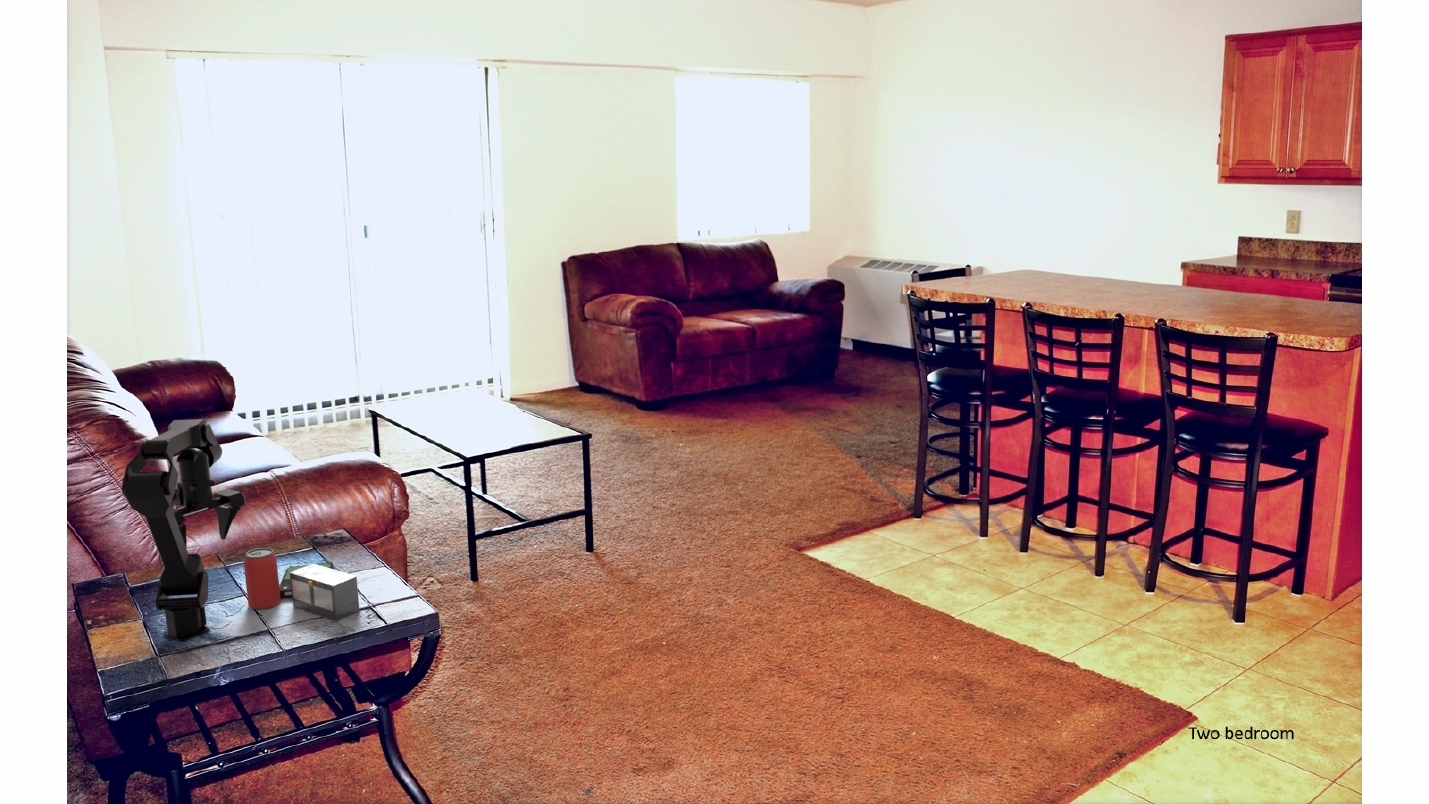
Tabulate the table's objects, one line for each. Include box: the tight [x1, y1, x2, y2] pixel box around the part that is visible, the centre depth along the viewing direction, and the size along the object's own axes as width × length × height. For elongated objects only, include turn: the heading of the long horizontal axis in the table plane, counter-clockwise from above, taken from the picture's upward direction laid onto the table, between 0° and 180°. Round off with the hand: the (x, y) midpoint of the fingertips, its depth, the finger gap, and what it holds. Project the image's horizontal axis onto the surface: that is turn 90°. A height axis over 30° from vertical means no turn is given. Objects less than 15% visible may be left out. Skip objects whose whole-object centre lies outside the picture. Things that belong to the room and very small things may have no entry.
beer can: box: [243, 547, 282, 610], centre depth 231 cm, size 7×7×12 cm
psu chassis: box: [290, 563, 361, 622], centre depth 228 cm, size 6×14×8 cm, turn 58°
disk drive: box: [279, 561, 334, 600], centre depth 242 cm, size 10×3×15 cm
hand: (203, 545), depth 230 cm, fingers open, 9 cm apart
